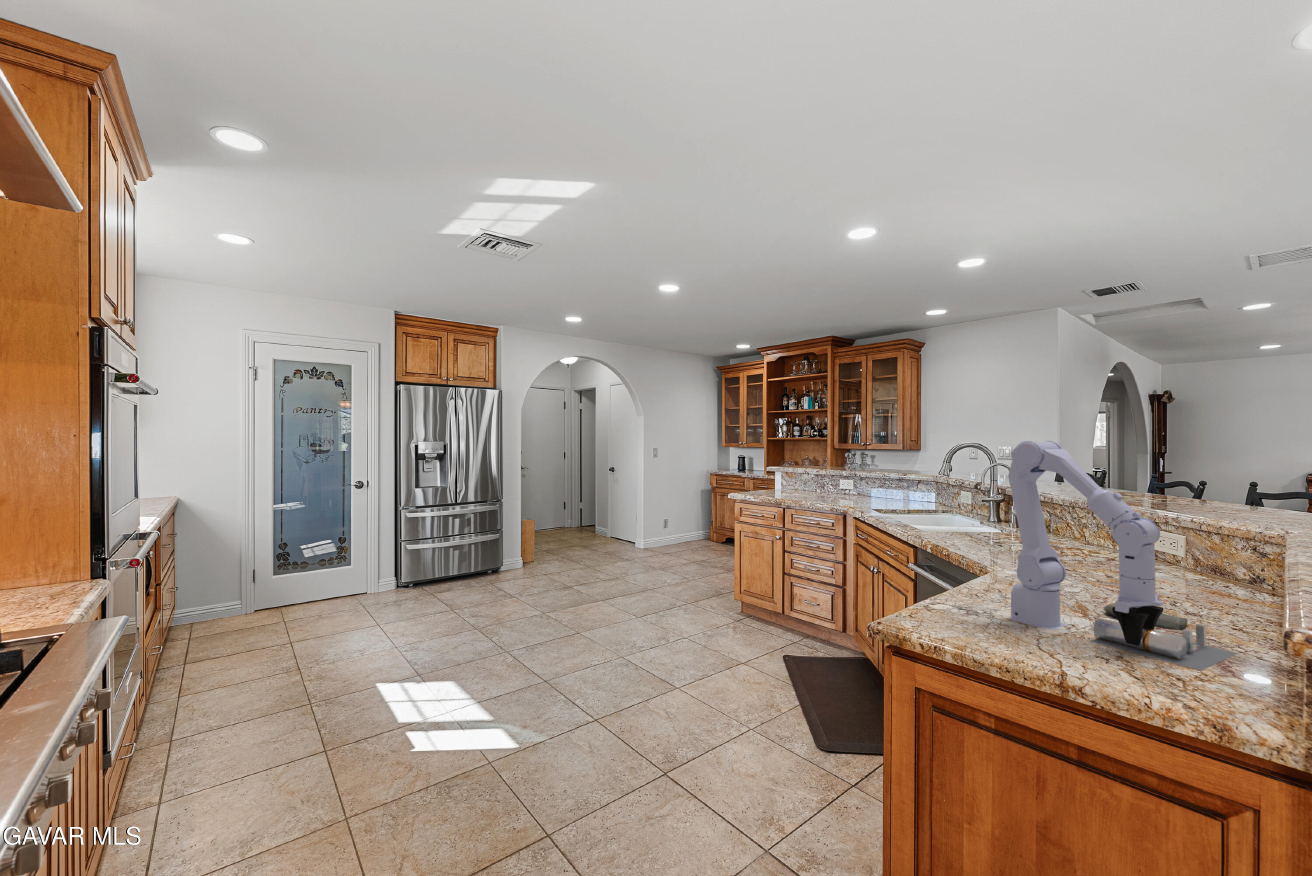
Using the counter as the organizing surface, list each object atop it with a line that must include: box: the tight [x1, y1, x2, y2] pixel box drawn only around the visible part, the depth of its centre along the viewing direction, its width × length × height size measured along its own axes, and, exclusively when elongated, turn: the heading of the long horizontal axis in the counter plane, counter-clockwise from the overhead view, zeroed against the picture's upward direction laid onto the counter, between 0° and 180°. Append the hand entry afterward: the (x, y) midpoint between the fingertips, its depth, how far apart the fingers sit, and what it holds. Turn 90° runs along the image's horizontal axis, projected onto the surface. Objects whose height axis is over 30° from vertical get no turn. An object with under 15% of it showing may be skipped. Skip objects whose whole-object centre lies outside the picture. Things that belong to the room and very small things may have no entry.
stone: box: [1103, 603, 1188, 632], centre depth 134 cm, size 11×4×15 cm
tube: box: [1093, 617, 1187, 660], centre depth 115 cm, size 14×4×4 cm, turn 28°
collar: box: [1181, 623, 1208, 654], centre depth 114 cm, size 1×8×4 cm, turn 118°
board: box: [1089, 638, 1238, 672], centre depth 116 cm, size 18×18×1 cm
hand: (1138, 641), depth 115 cm, fingers closed on tube, 4 cm apart
